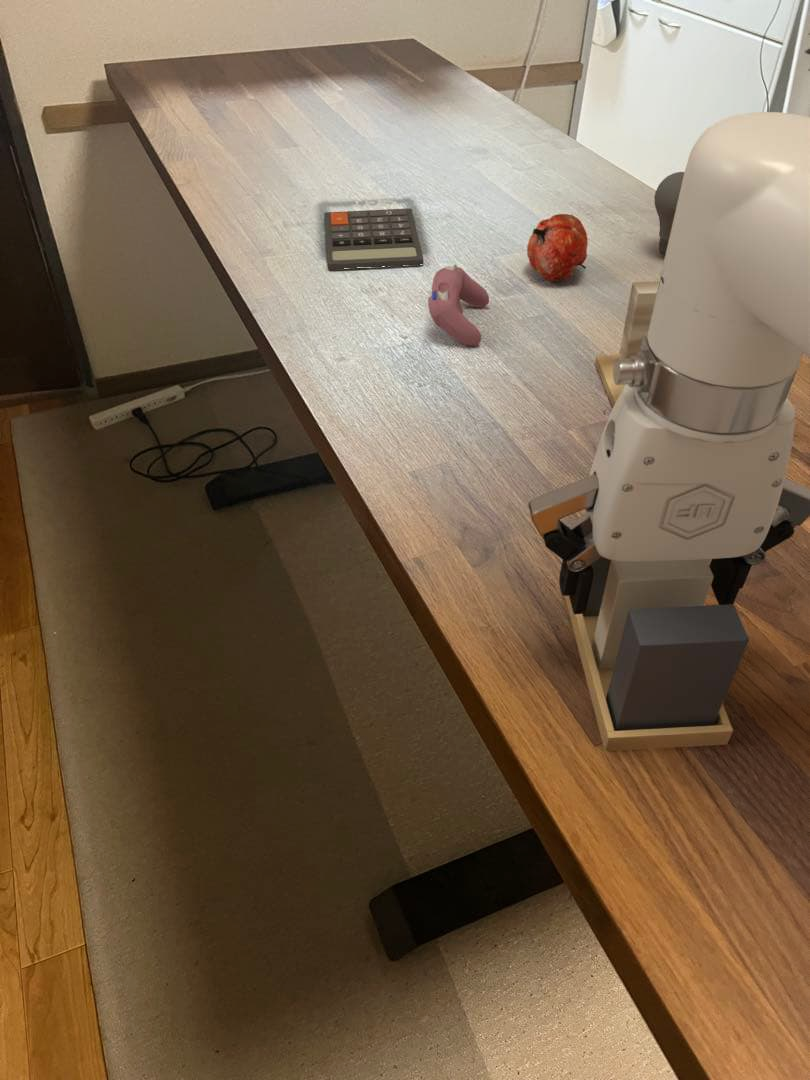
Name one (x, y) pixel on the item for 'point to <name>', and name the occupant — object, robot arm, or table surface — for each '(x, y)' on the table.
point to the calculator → (371, 239)
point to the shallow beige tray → (635, 738)
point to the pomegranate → (558, 247)
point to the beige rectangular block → (645, 596)
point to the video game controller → (456, 303)
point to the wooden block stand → (629, 334)
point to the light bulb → (667, 206)
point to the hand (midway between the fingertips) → (646, 594)
